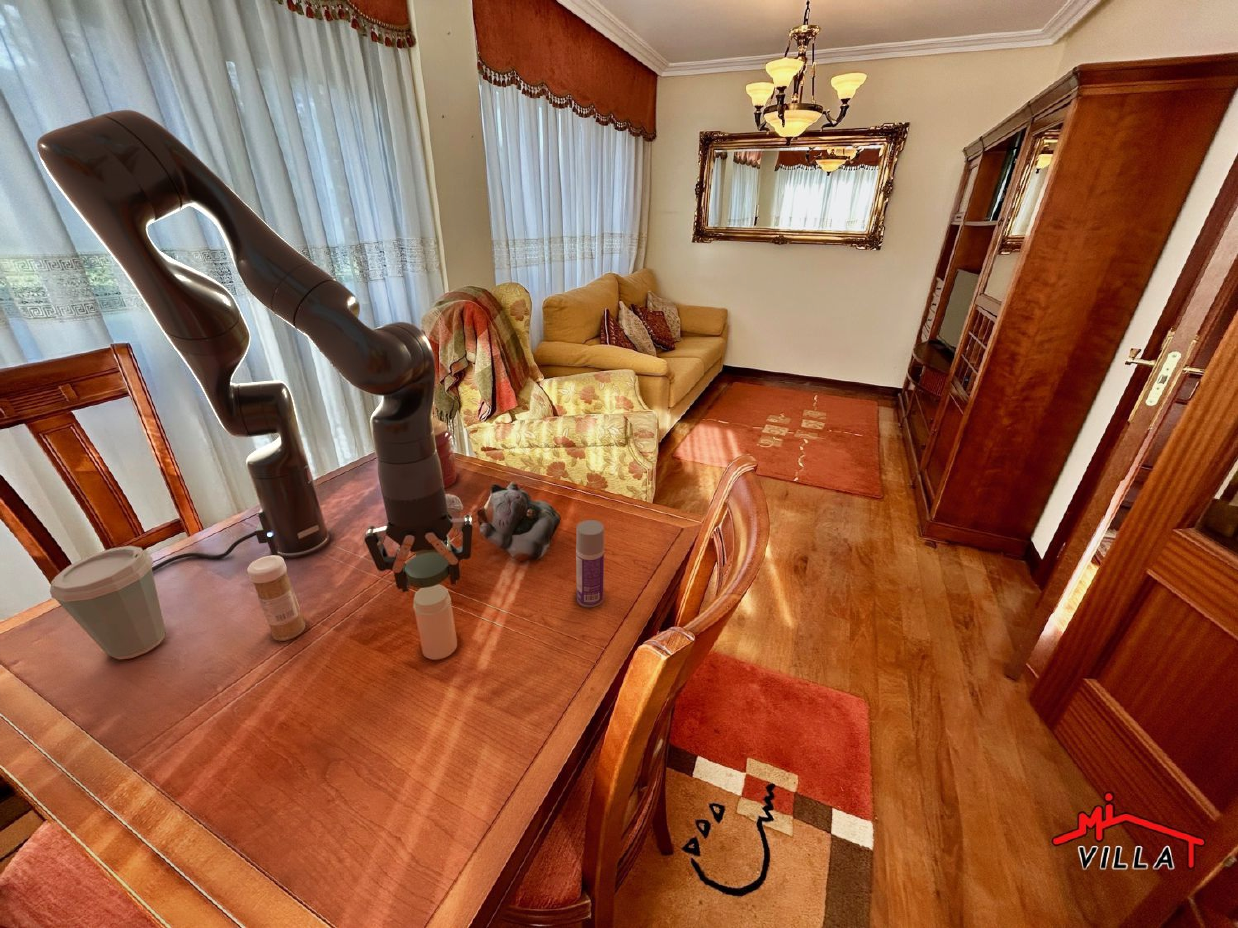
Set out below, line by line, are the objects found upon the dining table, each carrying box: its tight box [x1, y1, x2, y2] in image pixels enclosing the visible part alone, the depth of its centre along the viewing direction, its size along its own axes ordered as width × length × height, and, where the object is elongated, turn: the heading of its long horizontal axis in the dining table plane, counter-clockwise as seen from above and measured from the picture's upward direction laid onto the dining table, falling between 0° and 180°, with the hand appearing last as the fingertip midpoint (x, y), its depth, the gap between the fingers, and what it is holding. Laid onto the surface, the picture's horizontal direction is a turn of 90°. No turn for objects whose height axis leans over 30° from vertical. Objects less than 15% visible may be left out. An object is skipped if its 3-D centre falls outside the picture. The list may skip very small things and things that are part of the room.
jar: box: [412, 584, 458, 661], centre depth 75 cm, size 5×5×10 cm
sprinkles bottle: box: [247, 554, 306, 642], centre depth 76 cm, size 5×5×14 cm
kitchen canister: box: [431, 417, 458, 489], centre depth 120 cm, size 13×13×18 cm
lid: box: [404, 553, 450, 589], centre depth 71 cm, size 6×6×2 cm
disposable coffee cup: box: [49, 545, 166, 660], centre depth 73 cm, size 11×11×15 cm
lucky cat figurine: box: [475, 481, 562, 562], centre depth 100 cm, size 15×12×14 cm
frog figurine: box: [445, 493, 464, 518], centre depth 107 cm, size 6×7×7 cm
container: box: [575, 519, 605, 608], centre depth 85 cm, size 5×5×15 cm
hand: (430, 584), depth 72 cm, fingers closed on lid, 6 cm apart
